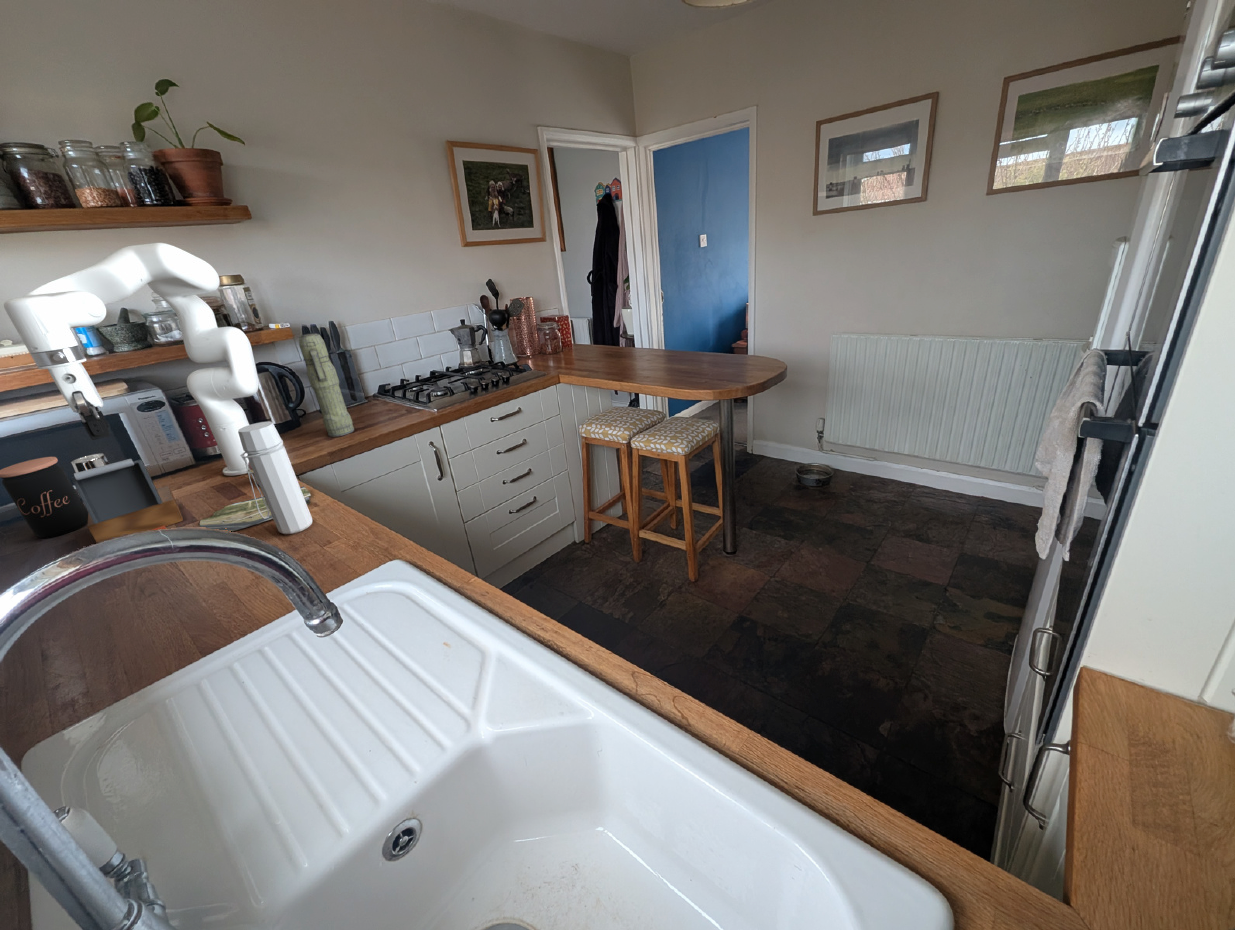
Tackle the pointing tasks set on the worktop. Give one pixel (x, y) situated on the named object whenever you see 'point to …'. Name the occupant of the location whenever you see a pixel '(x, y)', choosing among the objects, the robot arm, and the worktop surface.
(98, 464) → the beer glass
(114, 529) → the riser
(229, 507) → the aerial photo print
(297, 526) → the water bottle
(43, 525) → the coffee jar
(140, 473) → the basket
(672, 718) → the worktop surface
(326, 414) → the thermos
